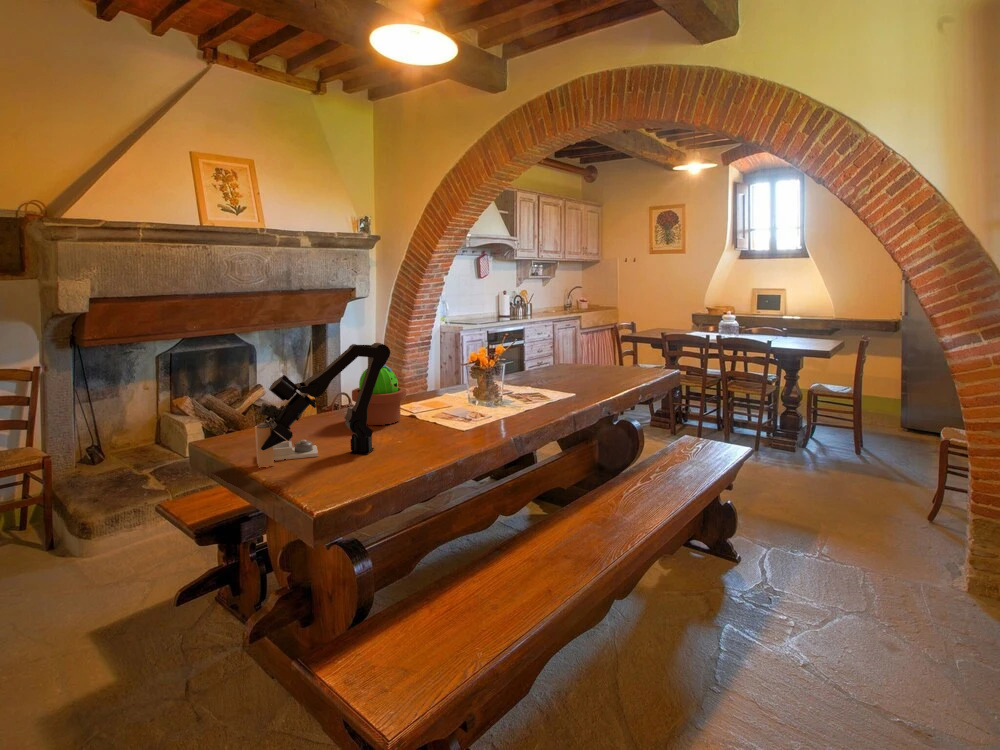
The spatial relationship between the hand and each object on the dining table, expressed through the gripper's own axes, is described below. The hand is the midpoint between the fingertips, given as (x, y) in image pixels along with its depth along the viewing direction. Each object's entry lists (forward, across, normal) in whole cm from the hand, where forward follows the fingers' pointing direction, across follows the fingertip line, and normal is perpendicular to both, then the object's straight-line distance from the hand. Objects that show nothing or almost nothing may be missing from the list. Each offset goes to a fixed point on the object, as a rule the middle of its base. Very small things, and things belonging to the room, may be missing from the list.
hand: (259, 446), depth 189 cm
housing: (-3, -8, +12) cm, 15 cm away
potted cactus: (-33, -39, +43) cm, 66 cm away
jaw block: (+4, 0, +6) cm, 7 cm away
